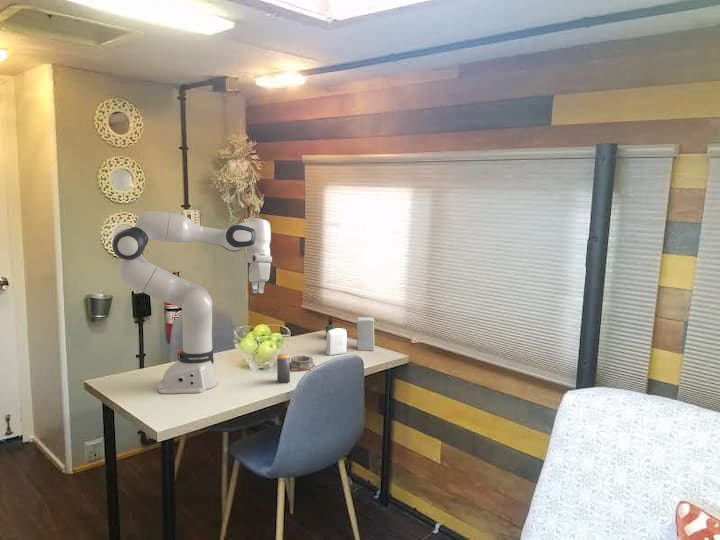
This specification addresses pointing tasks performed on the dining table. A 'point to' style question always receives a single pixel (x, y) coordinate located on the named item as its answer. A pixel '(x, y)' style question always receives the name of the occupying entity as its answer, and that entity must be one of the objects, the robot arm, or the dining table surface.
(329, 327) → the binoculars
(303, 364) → the ring socket
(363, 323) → the skincare box
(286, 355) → the charcoal canister
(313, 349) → the dining table surface
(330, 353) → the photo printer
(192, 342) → the robot arm
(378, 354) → the dining table surface
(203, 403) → the dining table surface
